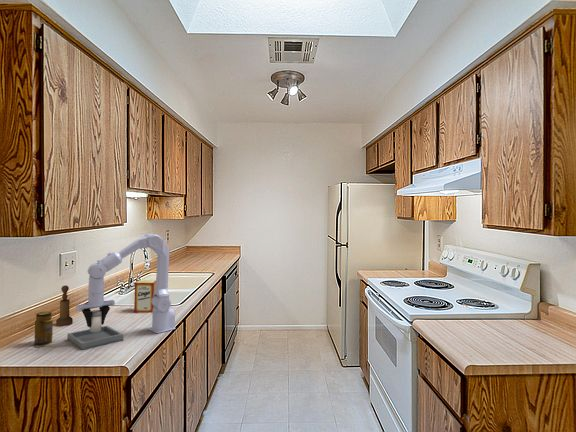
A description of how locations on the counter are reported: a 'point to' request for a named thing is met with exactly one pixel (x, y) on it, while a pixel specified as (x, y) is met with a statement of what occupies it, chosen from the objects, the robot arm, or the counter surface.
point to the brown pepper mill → (64, 309)
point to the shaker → (96, 321)
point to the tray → (94, 337)
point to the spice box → (144, 296)
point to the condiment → (43, 330)
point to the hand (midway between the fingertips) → (95, 325)
